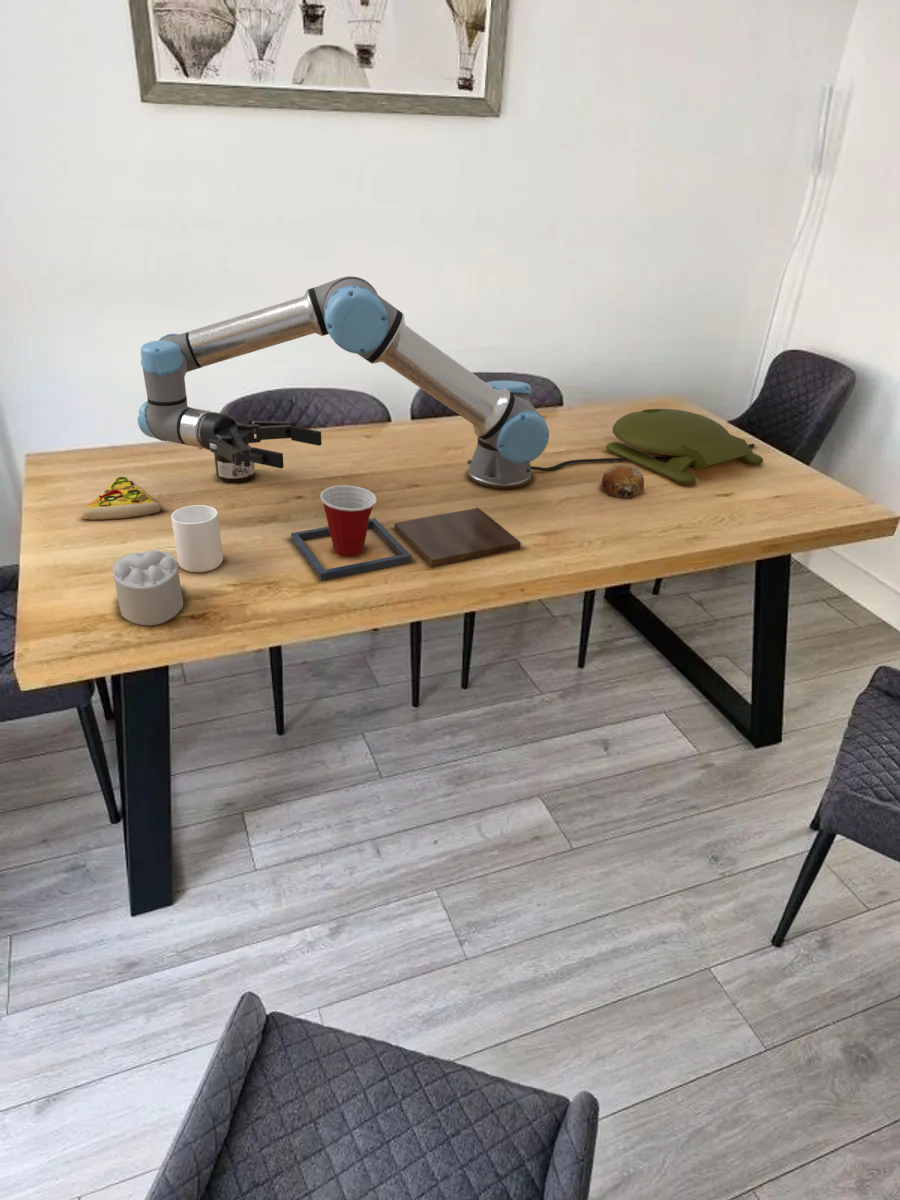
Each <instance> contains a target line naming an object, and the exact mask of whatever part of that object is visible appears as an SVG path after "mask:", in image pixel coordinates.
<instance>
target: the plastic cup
mask: <svg viewBox="0 0 900 1200" xmlns="http://www.w3.org/2000/svg"><path fill="white" fill-rule="evenodd" d="M377 498H378V497H377V496H376V495H375V494H374V492H372V491H371V490H368V489H367V488H364V487H362V486H361V487H360V486H358V485H357V486H356V485H349V484H348V485H347V484H344V485H333V486H330V487H326V488H325V489H324V490H322V491H321V493H320V495H319V499H320V500H321V502H322V505H323V506H322V507H323V510H324V513H325V518H326V523H327V527H329V532H330V535H329V537H330V538H331V544H332V548H333V550H334V553H335V554H336V555H338V556H339V557H345V558H352V557H353V558H354V557H357V556H360V555H361V554H362V553H363V552H364V549H365V548H364V547H365V543H366V538H367V533H368V529H369V528H368V523H369V519H370V517H371V514H372V510H373V508H374V506H375V505H376V503H377Z"/></svg>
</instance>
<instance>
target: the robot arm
mask: <svg viewBox="0 0 900 1200" xmlns="http://www.w3.org/2000/svg"><path fill="white" fill-rule="evenodd" d="M312 334H313V335H314V334H317V335H319V336H320V337H324V336H327V335H329V337H330V338H331V340H333V342H334V343H335V344H336V345H337V346H338V347H339V348H340V349H343V350H344V351H346V352H348V353H351V354H356V355H358V356H360V357H361V358H363V359H364V360H366V361H367V362H368V363H370V364H373V365H374V364H378V363H383V364H384V365H386V366H388V367H389V368H391V369H392V370H394V371H395V372H396V373H398V374H399V375H401V376H402V377H404V378H405V379H406V380H408V381H410V382H411V383H412V384H414V386H417V387H418V388H419V389H421V390H423V391H424V392H426V394H428V395H430V396H431V397H433V398H434V399H435V400H437V401H438V402H440V403H442V404H443V405H444V406H446V407H447V408H449V409H450V410H451V411H453V412H454V413H456V414H458V416H460V417H462V418H463V419H465V420H466V421H468V422H469V423H471V424H472V425H473V433H474V434H475V435H476V436H477V443H476V448H475V450H474V453H473V455H472V459H468V460H467V461H466V462H467V464H466V465H468V469H467V470H468V473H467V476H468V479H469V480H470V481H471V482H473V483H474V484H477V485H478V486H482V487H485V488H490V489H498V490H509V489H516V488H517V489H518V488H521V487H523V486H526V485H528V484H529V483H531V480H532V471H542V472H549V471H554V470H556V469H559V468H561V467H563V466H567V465H571V464H580V463H599V462H600V463H602V462H626V461H628V460H627V459H626V458H622V457H602V458H580V459H571V460H567V461H563V462H560V463H558V464H556V465H553V466H549V467H541V466H531V462H533V461H535V460H536V459H538V458H539V457H540V456H541V455H542V454H543V452H544V451H545V450H546V448H547V446H548V443H549V439H550V430H549V427H548V424H547V421H546V419H545V418H544V416H543V415H542V414H540V413H539V411H538V410H537V409H536V407H534V405H533V404H532V403H531V398H532V395H533V394H532V386H531V385H530V384H529V383H526V382H523V381H517V380H492V381H487V382H485V381H484V380H482V379H481V378H479V376H477V375H476V374H475V373H473V372H472V371H470V370H469V369H468V368H466V367H464V366H463V365H462V364H460V363H459V362H458V361H456V359H454V358H452V357H451V356H449V355H448V354H447V353H445V352H444V351H443V350H441V349H440V348H438V347H437V346H436V345H435V344H433V343H431V342H430V341H429V340H427V339H426V338H424V337H423V336H421V335H420V334H419V333H418V332H416V331H415V330H413V329H412V328H411V327H410V326H408V325H406V320H405V315H404V313H403V312H402V311H400V310H399V309H397V307H395V306H393V305H392V304H391V303H389V302H388V301H387V300H385V299H384V298H383V297H382V296H380V295H379V294H378V292H377V291H376V289H375V287H374V286H373V285H372V284H371V283H370V282H369V281H367V280H366V279H364V278H361V277H359V276H352V275H349V276H343V277H340V278H336V279H334V280H331V281H328V282H325V283H323V284H320V285H317V286H314V287H311V288H307V289H306V290H305V293H304V295H303V296H299V297H296V298H292V299H290V300H286V301H283V302H280V303H277V304H274V305H270V306H267V307H263V308H261V309H257V310H254V311H251V312H247V313H244V314H241V315H238V316H234V317H231V318H227V319H224V320H222V321H218V322H215V323H212V324H208V325H205V326H202V327H199V328H196V329H192V330H189V331H186V332H182V333H179V334H178V333H168V334H165V335H163V336H162V337H160V338H159V339H158V340H152V341H148V342H146V343H144V344H142V345H141V346H140V358H141V361H140V366H141V367H142V373H143V379H144V385H145V391H146V398H147V401H145V402H143V403H142V405H141V406H140V407H139V410H138V416H137V425H138V428H139V429H140V431H141V432H142V433H143V434H144V436H147V437H150V438H153V439H157V440H159V441H161V442H168V443H169V442H170V443H174V444H181V445H184V446H185V445H186V446H189V447H194V448H197V449H198V450H203V449H204V450H208V451H210V452H211V453H213V454H214V453H217V454H219V455H221V456H222V457H224V458H226V459H227V460H229V461H230V462H232V463H233V464H235V465H241V464H242V463H241V462H244V466H245V467H249V466H251V465H250V461H251V462H253V463H254V464H259V465H264V466H266V467H267V466H268V467H272V468H278V469H283V468H284V465H285V464H284V454H283V452H278V451H273V450H269V449H264V448H259V447H255V446H254V447H253V446H251V447H252V448H251V451H249V448H248V447H247V446H246V445H250V444H259V443H261V442H262V441H267V440H284V439H291V440H290V441H293V442H299V443H303V444H309V445H313V446H319V447H320V446H322V445H323V444H322V431H320V430H315V429H311V428H305V427H301V426H298V424H297V423H298V422H297V421H294V420H289V421H287V420H286V421H285V420H284V421H282V420H257V419H248V420H247V424H246V423H242V424H236V421H235V420H234V418H233V417H232V416H230V415H229V414H225V413H221V412H216V411H211V410H206V409H201V408H195V407H190V406H188V396H187V389H186V380H185V376H186V374H187V373H188V372H191V371H195V370H199V369H202V368H203V367H204V368H205V367H208V366H211V365H214V364H217V363H220V362H224V361H227V360H230V359H233V358H236V357H240V356H244V355H247V354H250V353H253V352H257V351H260V350H264V349H267V348H270V347H273V346H277V345H280V344H283V343H286V342H289V341H293V340H296V339H299V338H304V337H307V336H310V335H312ZM255 436H256V437H255ZM748 446H749V447H750V448H753V447H755V446H756V445H755V443H750V444H748ZM653 457H654V458H656V459H658V460H670V459H671V458H672V457H671V455H662V456H658V455H657V456H653ZM628 462H629V461H628Z"/></svg>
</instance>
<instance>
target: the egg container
mask: <svg viewBox="0 0 900 1200" xmlns="http://www.w3.org/2000/svg"><path fill="white" fill-rule="evenodd" d="M178 566H179V565H178V561H177V560H176V557H175V556H174V555H173V554H172V553H171V552H169V551H165V550H158V549H153V550H148V551H143V552H131V553H128V554H125V555H123V556H121V557H119V558H117V559H116V560H115V562H114V563H113V568H112V575H113V580H114V581H113V582H114V585H115V591H116V595H117V600H118V605H119V610H120V615H121V616H122V617H123V618H124V619H126V620H127V621H129V622H130V623H133V624H136V625H142V626H157V625H160V624H163V623H166V622H168V621H169V620H171V619H173V618H174V617H175V616H177V614H179V612H180V611H181V610H182V609H183V607H184V599H183V591H182V587H181V580H180V579H181V578H180V573H179V567H178Z"/></svg>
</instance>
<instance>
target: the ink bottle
mask: <svg viewBox="0 0 900 1200" xmlns="http://www.w3.org/2000/svg"><path fill="white" fill-rule="evenodd" d="M235 422H236V421H235ZM236 424H243V423H242V422H238V421H237V422H236ZM246 446H247V447H248V448H249V451H251V448H252V447H253V446H251V445H250V444H248V445H246ZM213 456H214V465H215V473H216V477H217V478H218V479H219V481H222V482H227V483H240V482H245V481H249V480H251V479H253V478H254V477H255V476H256V467H255V463H253V462H251V461H250V465H251V466H249V467H245V466H244V462H241V463H242V464H241V465H235V464H233V463H232V462H230V461H229V460H227V459H226V458H224V457H222V456H221V455H219V454H217V453H214V452H213Z"/></svg>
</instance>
